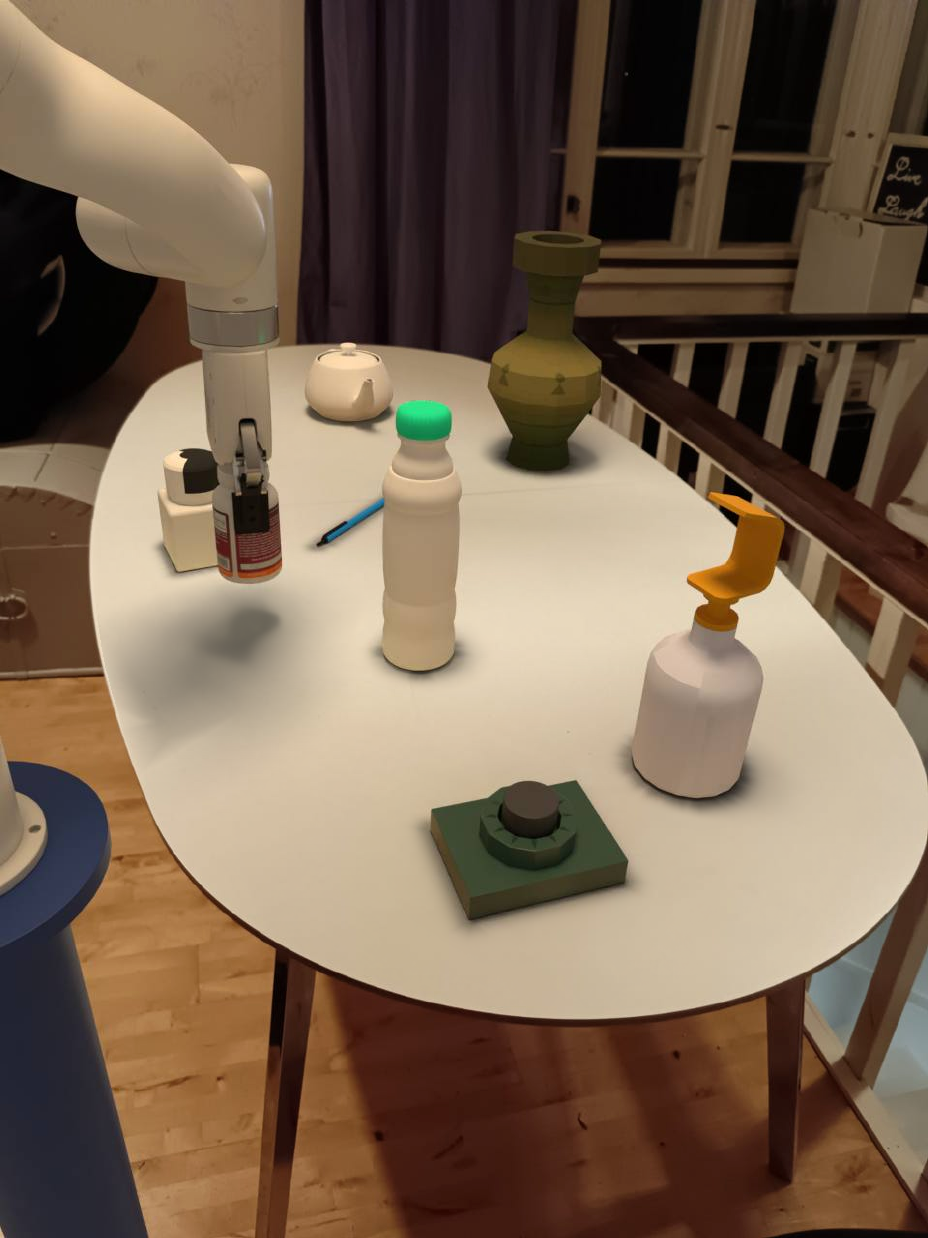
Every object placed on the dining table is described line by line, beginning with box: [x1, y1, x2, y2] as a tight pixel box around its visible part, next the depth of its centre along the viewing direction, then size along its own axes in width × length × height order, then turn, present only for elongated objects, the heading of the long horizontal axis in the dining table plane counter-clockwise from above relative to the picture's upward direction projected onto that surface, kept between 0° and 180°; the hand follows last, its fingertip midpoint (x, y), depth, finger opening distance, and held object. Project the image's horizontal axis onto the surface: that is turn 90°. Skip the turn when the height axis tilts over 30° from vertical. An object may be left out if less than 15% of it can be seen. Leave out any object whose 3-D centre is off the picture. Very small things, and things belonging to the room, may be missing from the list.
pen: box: [315, 497, 385, 547], centre depth 119 cm, size 1×19×1 cm, turn 152°
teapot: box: [304, 342, 394, 422], centre depth 148 cm, size 22×14×11 cm, turn 23°
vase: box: [487, 230, 602, 473], centre depth 130 cm, size 16×16×30 cm
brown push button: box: [502, 780, 559, 839], centre depth 69 cm, size 4×4×2 cm
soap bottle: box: [630, 491, 785, 799], centre depth 74 cm, size 9×9×25 cm
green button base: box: [430, 779, 629, 920], centre depth 70 cm, size 12×9×4 cm
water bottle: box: [381, 399, 463, 672], centre depth 87 cm, size 7×7×25 cm
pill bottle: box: [212, 457, 283, 585], centre depth 91 cm, size 6×6×11 cm
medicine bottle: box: [156, 447, 220, 573], centre depth 106 cm, size 7×7×12 cm
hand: (246, 515), depth 91 cm, fingers closed on pill bottle, 6 cm apart
